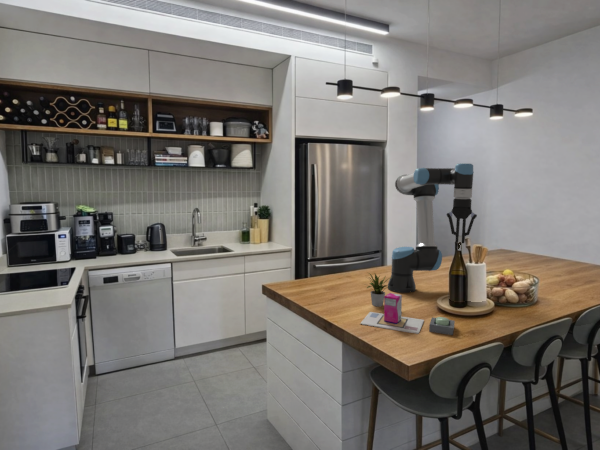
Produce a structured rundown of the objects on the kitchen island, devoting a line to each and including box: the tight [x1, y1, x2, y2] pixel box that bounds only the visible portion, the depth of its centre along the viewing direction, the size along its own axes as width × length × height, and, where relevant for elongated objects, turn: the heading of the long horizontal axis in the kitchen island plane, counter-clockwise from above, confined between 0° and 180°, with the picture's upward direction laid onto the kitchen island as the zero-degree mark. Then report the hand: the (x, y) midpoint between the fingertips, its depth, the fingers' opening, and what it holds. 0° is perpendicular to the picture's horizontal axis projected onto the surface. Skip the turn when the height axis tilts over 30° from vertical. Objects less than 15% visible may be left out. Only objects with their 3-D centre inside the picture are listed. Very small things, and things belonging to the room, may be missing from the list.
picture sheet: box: [359, 311, 425, 335], centre depth 172 cm, size 16×24×1 cm, turn 66°
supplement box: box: [383, 292, 403, 324], centre depth 172 cm, size 6×6×12 cm
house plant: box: [364, 272, 392, 307], centre depth 195 cm, size 14×14×16 cm
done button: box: [435, 316, 450, 326], centre depth 165 cm, size 5×5×4 cm
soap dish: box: [428, 317, 456, 336], centre depth 165 cm, size 9×9×3 cm
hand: (459, 250), depth 182 cm, fingers closed
